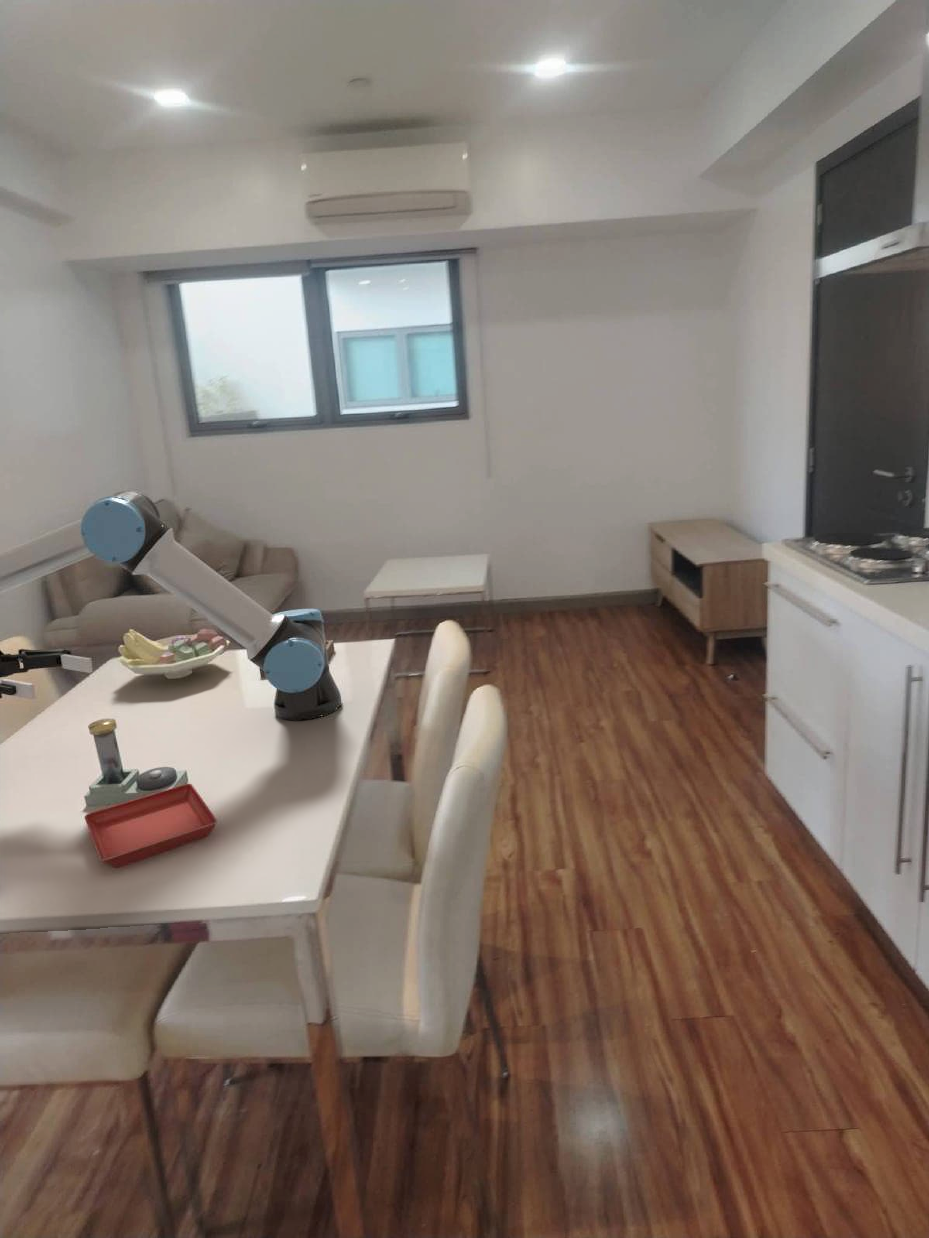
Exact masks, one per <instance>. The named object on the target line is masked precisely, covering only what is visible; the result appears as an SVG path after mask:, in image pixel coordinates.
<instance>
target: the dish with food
mask: <svg viewBox="0 0 929 1238" xmlns="http://www.w3.org/2000/svg"><path fill="white" fill-rule="evenodd" d="M122 639H123V643H124V645H122V644H121V645H119V647H118V648H117V650H118V652H119V653H120V655H121V656H120V657H118V658H117V661H118V662H119V663H120V664H121V665H122V666H124V667H125V668H127V669H128V670H130V671H132V672H133V673H134V674H138V675H146V676H148V675H149V676H150V675H164V676H165V678H167V679H169V680H173V679H176V680H177V679H181V678H182V679H183V678H186V677H189V675H191V674H193V669H196V668H200V667H203V666H206V665H208V664H209V663H210V662H211V663H212V661H213V660H215V659H216V658H217V657H218V656H222V655H223V654H224V653H225V652H227V651H228V647H229V644H230V640H227V639H225V637H224V636H220V635H219V634H218V633H217V631H216V630H215V629H213V628H212V629H211V628H201V629H200V630H199V631H198V632H197V633H195V634H182V635H173V636H169V637H164V638H161V639H157V640H152V639H149V638H147V637H146V636H144V635H143V634H141V633H139V632H137V631H135V630H134V629H129V630H128V632H125V633H124V634H123V637H122Z"/></svg>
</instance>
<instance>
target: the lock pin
mask: <svg viewBox="0 0 929 1238" xmlns="http://www.w3.org/2000/svg"><path fill="white" fill-rule="evenodd" d="M87 727H88V731H89V734H90V735H92V736H93V740H94V743H95V749H96V753H97V759H98V761H99V765H100V771H101V774H102V776H103V780H104V784H105V785H106V784H121V783H122V782H123V781H124V780H125V776H124V771H123V770H124V767H123V763H122V758H121V754H120V747H119V744H118V741H117V740H118V739H117V736H116V731H115V730H116V729H117V727H118V726H117V722H116V719H114V718H103V719H99V720H96V721H93V722H91V723H89V724H88V726H87Z"/></svg>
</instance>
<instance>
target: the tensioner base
mask: <svg viewBox="0 0 929 1238" xmlns="http://www.w3.org/2000/svg"><path fill="white" fill-rule="evenodd" d="M123 771H124V776H125V780H124V781H123V782H122V783H121V784H106V785H105V784H104V780H103V776H102V773H101V774H100V775H99V776H98V777H97V778H96V779H95V780H94V781H93V782H92V783H91V784H90V785H88V789H89V790H88V791H87V793H85V794H84V795H83V797H84V801H85V805H86V806H87V807H89V806H103V805H104V806H105V805H118V804H122V803H125V802H128V801H131V800H135V799H138V798H141V797H145V796H148V795H151V794H155V793H158V792H161V791H165V790H168V789H171V788H174V787H178V786H181V785H184V784H187V783H188V781H189V777H188V772H187V770H184V769H183V770H176V769H175V768H174V767H171V766H161V767H155V768H152V769H149V770H146V771H144V772H140V770H139V769H137V768H129V769H128V768H127V769H126V768H125V769H123Z"/></svg>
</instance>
